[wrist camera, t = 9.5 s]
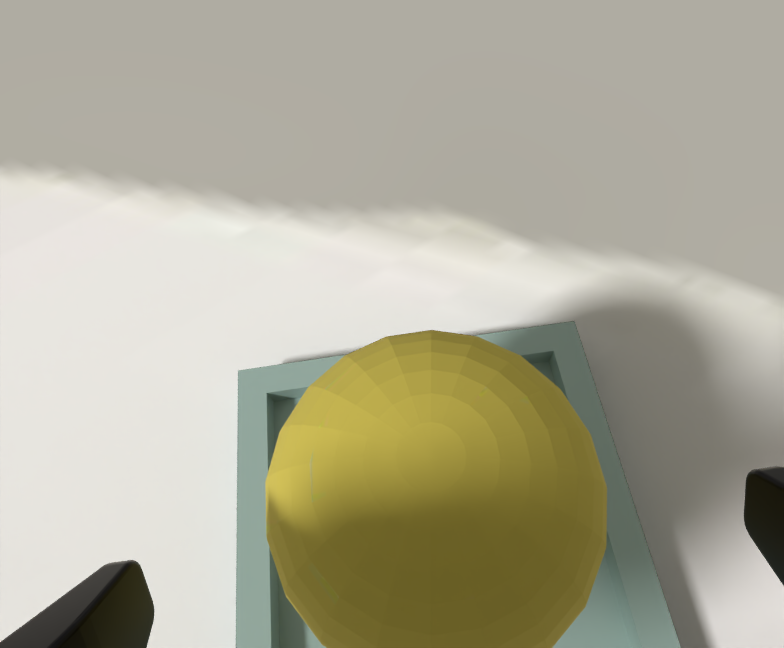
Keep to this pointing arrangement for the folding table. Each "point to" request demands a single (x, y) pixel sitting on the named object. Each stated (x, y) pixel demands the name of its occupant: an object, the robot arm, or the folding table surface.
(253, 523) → the tray
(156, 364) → the folding table surface
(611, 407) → the folding table surface
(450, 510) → the light bulb
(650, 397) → the folding table surface
